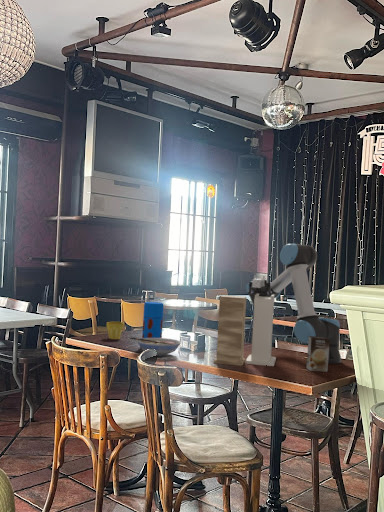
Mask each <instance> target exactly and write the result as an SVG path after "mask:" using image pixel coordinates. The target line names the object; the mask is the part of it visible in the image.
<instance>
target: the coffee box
mask: <svg viewBox="0 0 384 512" xmlns="http://www.w3.org/2000/svg"><path fill="white" fill-rule="evenodd" d="M329 342H330V339H329V338H326V337H314V336H309V340H308V343H307V354H306V368H305V369H307V370H308V371H310V372H322V373H323V372H325V373H326V372H328V370H329V368H328V367H329V363H328V356H329Z"/></svg>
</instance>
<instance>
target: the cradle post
mask: <svg viewBox="0 0 384 512" xmlns="http://www.w3.org/2000/svg"><path fill="white" fill-rule="evenodd" d="M274 306H275V298H274V295H271V297H261V296H259V294H258V293H257V294H256V295H255V301H254V305H253V307H254V308H253V322H252V335H251V336H252V340H251V354H248V356H247V358H245V364H246V365H256V366H266V365H267V366H268V367H274V366H275V363H276V359H277V356H272V347H273V346H272V342H273V328H274V309H275V307H274ZM267 366H266V367H267Z"/></svg>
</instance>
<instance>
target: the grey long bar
mask: <svg viewBox="0 0 384 512" xmlns="http://www.w3.org/2000/svg"><path fill="white" fill-rule="evenodd" d="M252 287H255V288H261V287H263V278H256V279H254V278H253V282H252Z"/></svg>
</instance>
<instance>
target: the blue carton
mask: <svg viewBox="0 0 384 512" xmlns="http://www.w3.org/2000/svg"><path fill="white" fill-rule="evenodd" d="M142 317H143V318H142V335H141V338H163V337H162V336H163V335H162V334H163V321H164V303H163V302H155V301H146V302H144V305H143V316H142Z"/></svg>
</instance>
